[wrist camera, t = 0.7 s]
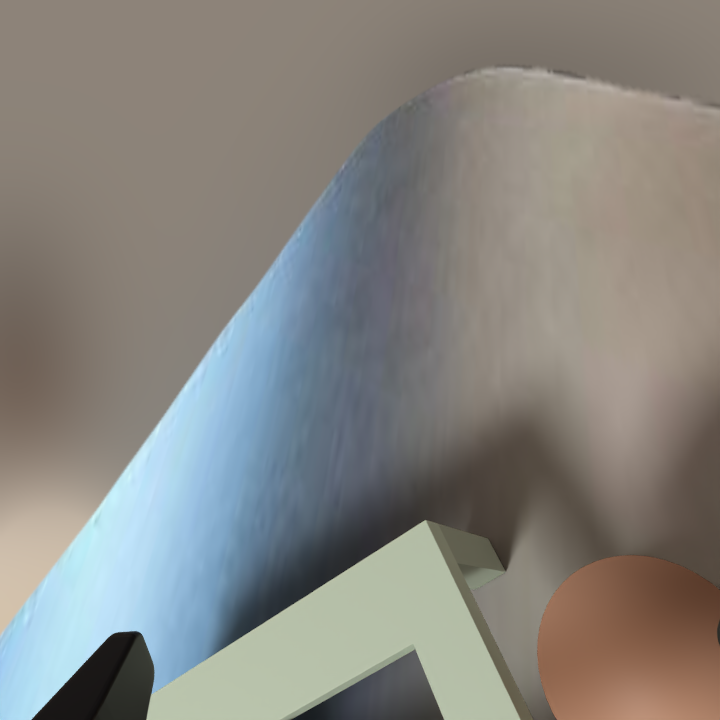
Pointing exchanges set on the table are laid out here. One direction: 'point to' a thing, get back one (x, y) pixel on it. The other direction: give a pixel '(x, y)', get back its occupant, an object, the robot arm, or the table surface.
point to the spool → (632, 643)
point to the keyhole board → (365, 639)
